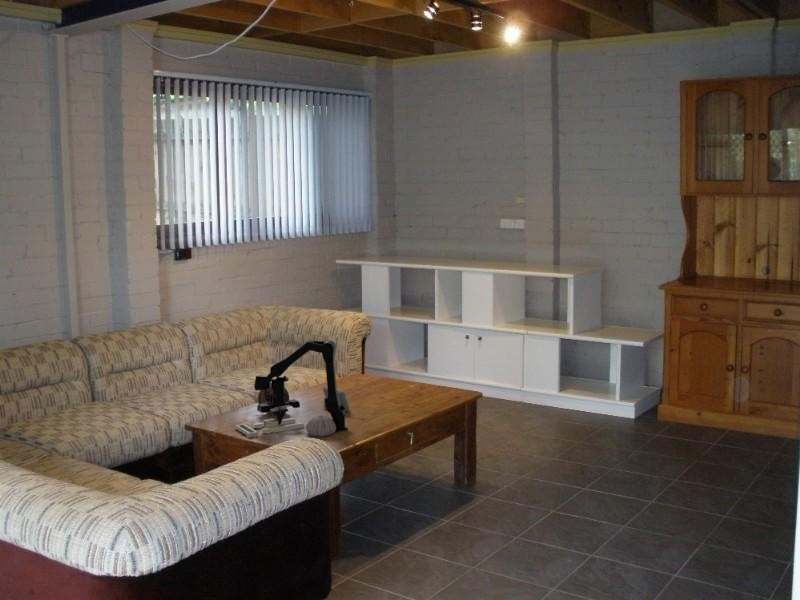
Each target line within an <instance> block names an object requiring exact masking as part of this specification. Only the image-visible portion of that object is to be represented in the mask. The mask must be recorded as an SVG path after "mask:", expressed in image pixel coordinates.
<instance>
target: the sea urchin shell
mask: <svg viewBox="0 0 800 600" xmlns="http://www.w3.org/2000/svg"><path fill="white" fill-rule="evenodd" d="M335 425H336V424H335V423H334V422H333V420H332V418H331V417H329V416H327V415H317V416H315V417H312V418H311V419H310V420H309V421H308V422H307V424H306V426H305V429H306V430H305V431H306V433H308V435H310V436H312V437H320V438H321V437H322V438H323V437H329V436H331V435H333V434H335V432H337V431H336V426H335Z"/></svg>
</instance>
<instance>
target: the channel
mask: <svg viewBox="0 0 800 600" xmlns="http://www.w3.org/2000/svg"><path fill="white" fill-rule="evenodd" d="M252 425H253V429H254V428H259V429H261V434H262V433H267V434H272V433H271V432H273V433H278V432H284V431H291V430H297V429H303V428H305V422H297V423H296V418H295V417H291V418H283V419H282V422H281V424H280V425H278V426H277V427H270V428H262V427H264V426H263V422H257V423H253V424H252Z"/></svg>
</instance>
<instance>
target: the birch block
mask: <svg viewBox="0 0 800 600" xmlns="http://www.w3.org/2000/svg"><path fill="white" fill-rule="evenodd" d="M262 421H263V422H262V423H263V426H264V428H270V427H277V426H279V425H278V421H277V420H276V418H269V419H263V420H262ZM264 428H263V429H264Z"/></svg>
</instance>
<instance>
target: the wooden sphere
mask: <svg viewBox="0 0 800 600" xmlns="http://www.w3.org/2000/svg"><path fill="white" fill-rule="evenodd" d="M271 392H272V382H271V388H270V389H269V390H268V391H258V395H257V405H258V404H265V403H266V404H267V405H272V404H268V402H264V400H263V395H266V394H268V395H269V396H271ZM285 393H286V396H285V402H286V403H287V401H288V400H290V394H289V391H288V389H287V388H286V387H285ZM275 407H276V406H275ZM265 414H268V415H273V416H274V414H273V412H271V411H269V412H266V413H265Z"/></svg>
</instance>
